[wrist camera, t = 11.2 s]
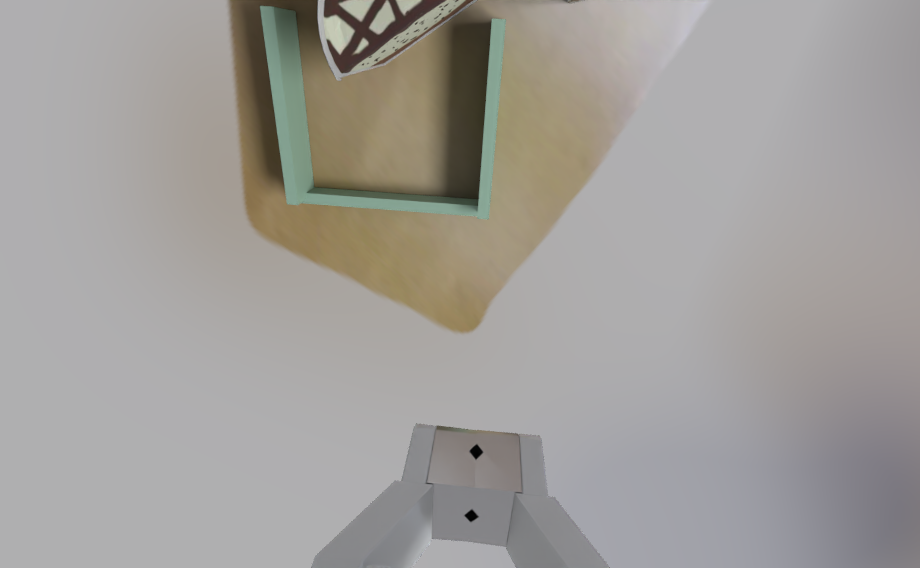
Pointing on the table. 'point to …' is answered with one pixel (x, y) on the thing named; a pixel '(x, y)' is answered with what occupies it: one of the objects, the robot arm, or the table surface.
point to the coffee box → (573, 0)
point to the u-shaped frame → (296, 137)
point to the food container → (377, 29)
